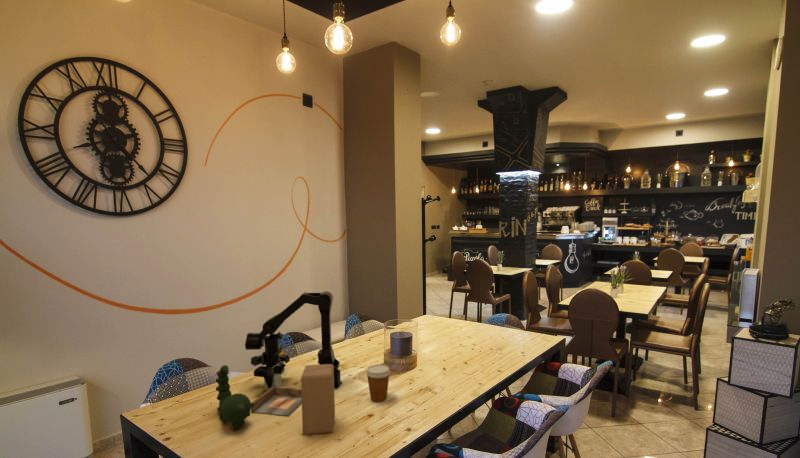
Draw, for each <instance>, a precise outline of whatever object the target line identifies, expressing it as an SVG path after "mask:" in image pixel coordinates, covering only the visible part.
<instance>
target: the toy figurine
mask: <svg viewBox="0 0 800 458" xmlns="http://www.w3.org/2000/svg"><path fill="white" fill-rule="evenodd" d="M229 370H230V368H229V366H228V365H222V366H221V367H220V368H219V370H218V371H217V372H216V376H217V378H216V379H215V383H217V385H218V386H216V387H215V391H217V392H218V394H217V396H216V400H218V401H219V402H218V407H217V409H216V410H217V412H218V413H220V414H219V416H218V418H219V420H221V423H224V424H227V423H228V424H229V423H230V424H231V429H233V430H238V429H241V428H243V427H244V426H245V424H246V421H245V420H246V419H247V418H249V417H250V416H251V403H252V402H251V400H250V398H249V396H247V395H246V394H243V393H237V392H236V393H234V394H232V391H231V389H230V387H231V384H230V383H229V376H228V374H229Z"/></svg>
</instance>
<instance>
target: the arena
mask: <svg viewBox="0 0 800 458" xmlns="http://www.w3.org/2000/svg"><path fill="white" fill-rule="evenodd" d="M300 406H302V392H301V387H300V388H299V387H288V386H273V387H271V388H270V389H269V390H266V391H265V392H263V393H262V394H261V395H259V396H258V397H257V398H255V399H254V400H253V401H252V402H251V411H250V414H251V413H254V414H259V415H260V414H262V415H270V416H271V415H272V416H279V417H280V416H281V417H290V416H291V415H292V414H293V413H294V412H295V411H296V410H297V409H298V408H299V407H300Z"/></svg>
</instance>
